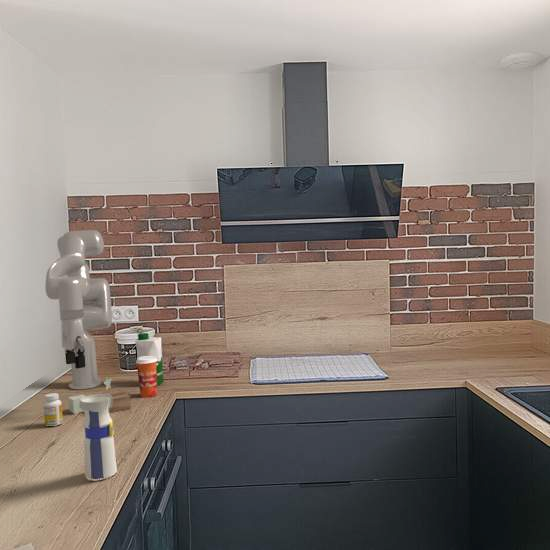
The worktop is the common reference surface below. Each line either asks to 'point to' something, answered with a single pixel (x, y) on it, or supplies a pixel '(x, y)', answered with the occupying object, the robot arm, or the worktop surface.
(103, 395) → the white blue vase
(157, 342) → the milk carton
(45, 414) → the supplement bottle
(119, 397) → the walnut block
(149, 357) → the paper cup
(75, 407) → the sage block
